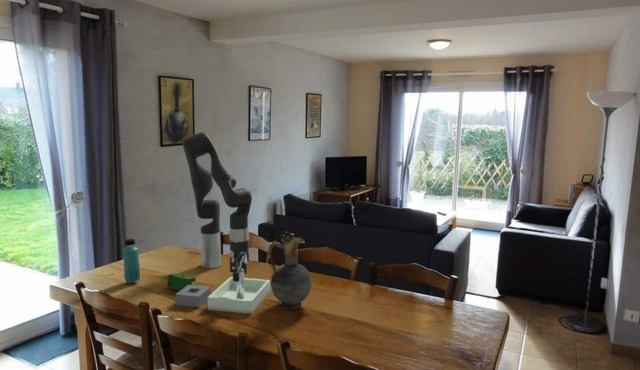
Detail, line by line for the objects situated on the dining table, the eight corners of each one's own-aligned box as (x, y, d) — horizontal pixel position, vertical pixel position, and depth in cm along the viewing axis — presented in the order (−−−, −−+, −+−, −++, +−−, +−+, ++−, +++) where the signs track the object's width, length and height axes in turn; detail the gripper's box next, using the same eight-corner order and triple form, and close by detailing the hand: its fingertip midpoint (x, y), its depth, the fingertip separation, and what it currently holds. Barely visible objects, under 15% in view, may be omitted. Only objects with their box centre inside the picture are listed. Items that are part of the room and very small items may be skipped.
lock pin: (238, 295, 177) (237, 267, 175) (245, 296, 176) (245, 268, 175) (235, 298, 174) (234, 270, 172) (242, 299, 173) (242, 270, 171)
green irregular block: (191, 298, 188) (199, 280, 186) (180, 299, 182) (189, 281, 181) (174, 282, 193) (183, 265, 192) (164, 283, 188) (172, 265, 187)
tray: (230, 287, 188) (230, 276, 187) (270, 291, 184) (270, 280, 183) (207, 309, 166) (207, 297, 166) (252, 313, 163) (251, 301, 162)
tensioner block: (188, 295, 180) (188, 284, 179) (211, 297, 178) (210, 286, 177) (176, 305, 170) (175, 294, 169) (199, 307, 168) (199, 296, 167)
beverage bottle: (136, 285, 189) (134, 241, 186) (121, 285, 190) (119, 241, 186) (143, 280, 196) (140, 237, 193) (128, 280, 196) (126, 237, 193)
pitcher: (299, 315, 162) (299, 238, 157) (260, 303, 172) (259, 230, 167) (315, 305, 171) (316, 231, 166) (277, 294, 181) (277, 224, 176)
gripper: (237, 233, 179) (238, 270, 181) (222, 242, 165) (224, 283, 168) (254, 234, 177) (255, 272, 180) (241, 244, 164) (242, 284, 166)
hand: (240, 277), depth 174 cm, fingers open, 8 cm apart
